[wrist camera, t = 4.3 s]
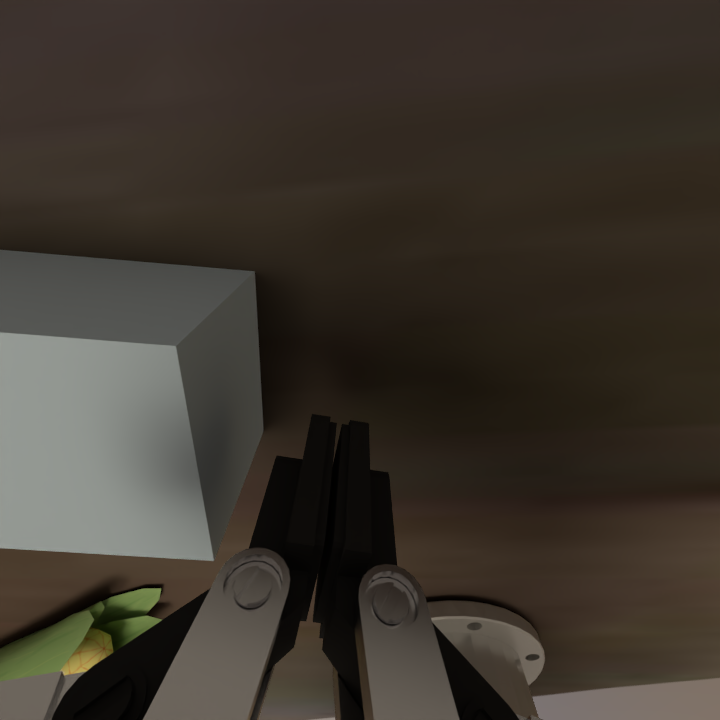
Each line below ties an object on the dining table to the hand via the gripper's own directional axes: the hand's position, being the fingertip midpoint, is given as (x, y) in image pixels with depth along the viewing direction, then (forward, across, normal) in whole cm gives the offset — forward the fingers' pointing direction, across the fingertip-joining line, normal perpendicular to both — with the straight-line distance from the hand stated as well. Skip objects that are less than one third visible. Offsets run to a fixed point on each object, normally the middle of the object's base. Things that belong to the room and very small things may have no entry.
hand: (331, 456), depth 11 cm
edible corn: (+5, +14, +23) cm, 28 cm away
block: (+4, +8, 0) cm, 9 cm away
